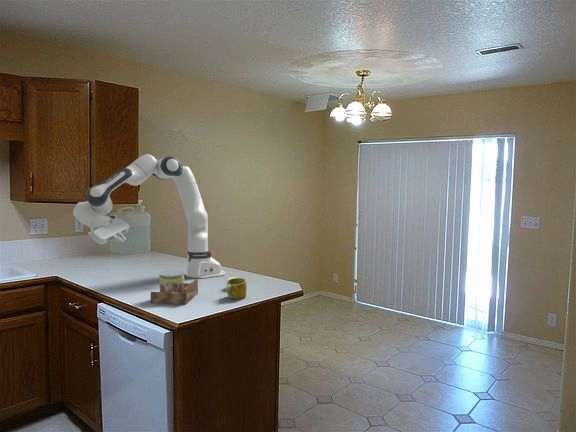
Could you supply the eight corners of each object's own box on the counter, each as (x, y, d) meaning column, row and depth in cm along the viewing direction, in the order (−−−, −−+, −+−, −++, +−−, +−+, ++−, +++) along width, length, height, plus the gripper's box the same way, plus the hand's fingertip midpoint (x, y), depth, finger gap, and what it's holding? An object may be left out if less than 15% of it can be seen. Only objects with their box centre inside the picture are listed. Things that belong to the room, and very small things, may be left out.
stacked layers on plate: (221, 288, 223) (221, 277, 223) (237, 286, 227) (237, 275, 227) (228, 292, 214) (228, 281, 214) (245, 290, 218) (245, 279, 218)
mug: (236, 288, 213) (237, 271, 209) (250, 298, 207) (252, 281, 203) (217, 298, 204) (218, 280, 200) (231, 308, 199) (232, 290, 194)
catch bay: (150, 303, 194) (150, 288, 193) (165, 292, 212) (165, 278, 211) (186, 304, 192) (185, 289, 192) (197, 293, 211) (197, 279, 210)
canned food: (158, 302, 195) (158, 276, 194) (160, 295, 206) (160, 271, 205) (184, 301, 198) (184, 275, 197) (184, 294, 209) (184, 270, 208)
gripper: (87, 227, 202) (110, 243, 201) (117, 214, 221) (138, 228, 219) (84, 237, 205) (107, 253, 203) (114, 223, 223) (135, 238, 222)
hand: (123, 240), depth 211 cm, fingers closed
